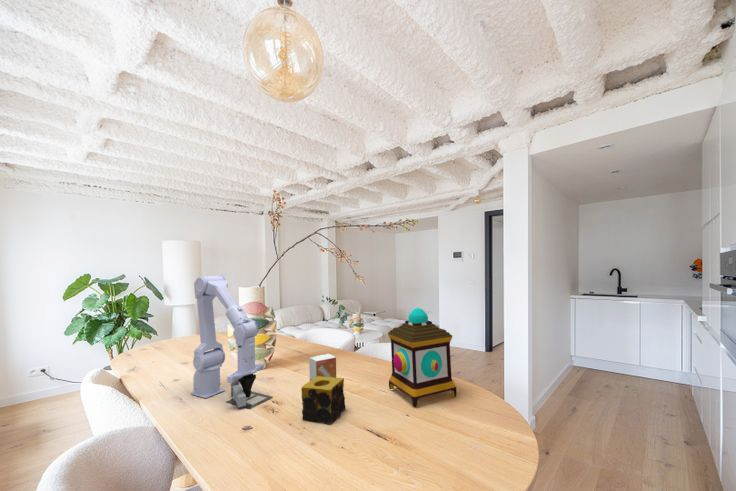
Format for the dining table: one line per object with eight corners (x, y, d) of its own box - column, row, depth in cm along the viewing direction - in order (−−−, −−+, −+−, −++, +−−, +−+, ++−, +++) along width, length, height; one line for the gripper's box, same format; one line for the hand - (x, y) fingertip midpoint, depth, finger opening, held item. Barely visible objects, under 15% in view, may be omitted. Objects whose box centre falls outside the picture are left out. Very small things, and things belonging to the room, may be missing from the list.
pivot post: (229, 395, 112) (229, 379, 112) (236, 393, 114) (236, 376, 115) (234, 397, 110) (234, 380, 111) (241, 394, 113) (241, 377, 113)
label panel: (226, 402, 106) (226, 400, 106) (250, 391, 115) (250, 390, 115) (249, 409, 100) (249, 407, 100) (272, 397, 109) (272, 396, 109)
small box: (316, 399, 106) (315, 361, 107) (309, 393, 111) (308, 357, 112) (337, 393, 111) (336, 356, 112) (329, 388, 116) (328, 353, 117)
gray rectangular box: (232, 395, 110) (232, 386, 110) (239, 393, 111) (239, 384, 112) (238, 407, 100) (238, 397, 100) (245, 405, 101) (245, 395, 102)
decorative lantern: (412, 411, 95) (408, 313, 97) (383, 389, 113) (380, 307, 115) (463, 398, 103) (458, 308, 105) (428, 379, 121) (425, 302, 123)
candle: (346, 409, 98) (345, 377, 99) (332, 425, 88) (331, 390, 89) (317, 406, 101) (317, 375, 102) (301, 421, 92) (300, 386, 92)
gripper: (237, 364, 99) (238, 407, 98) (270, 352, 112) (270, 390, 111) (222, 362, 102) (222, 404, 101) (255, 350, 115) (256, 387, 114)
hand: (247, 397), depth 106 cm, fingers closed, pressing on gray rectangular box
